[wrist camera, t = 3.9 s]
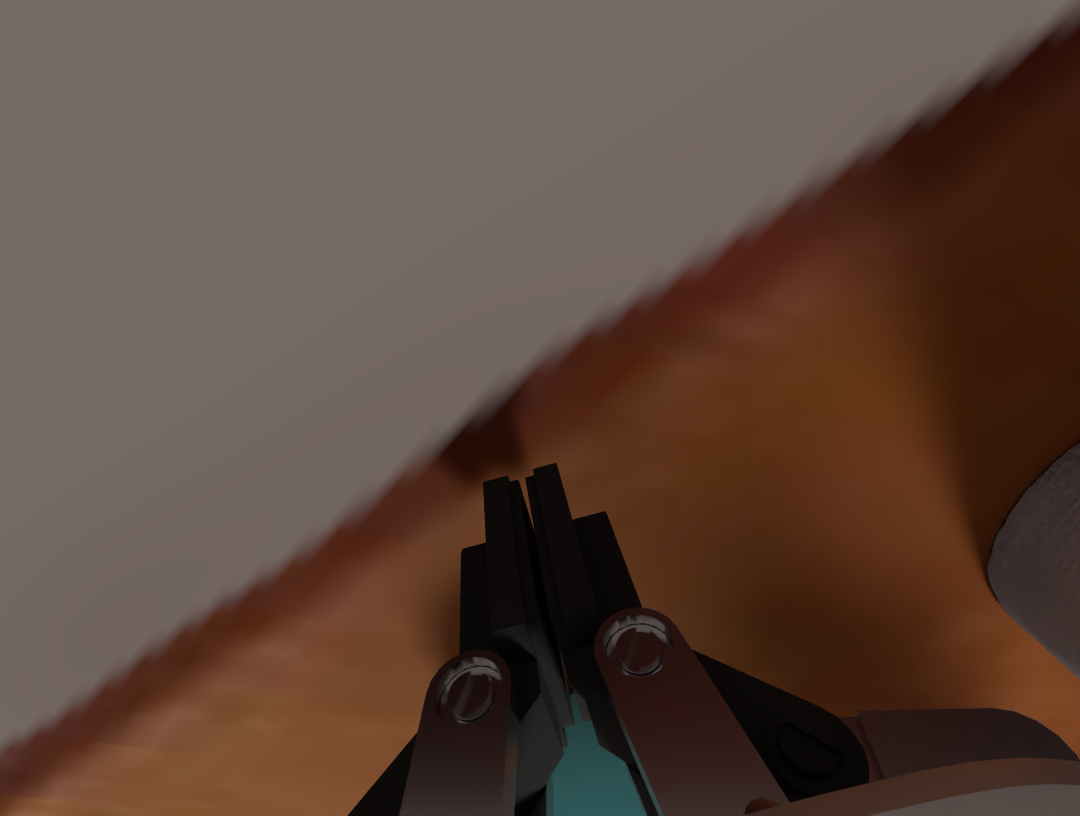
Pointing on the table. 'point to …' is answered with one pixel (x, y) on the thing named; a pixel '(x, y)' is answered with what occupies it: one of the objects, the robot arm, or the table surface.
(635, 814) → the ball
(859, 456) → the table surface
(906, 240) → the table surface
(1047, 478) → the pillar candle
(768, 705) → the robot arm
